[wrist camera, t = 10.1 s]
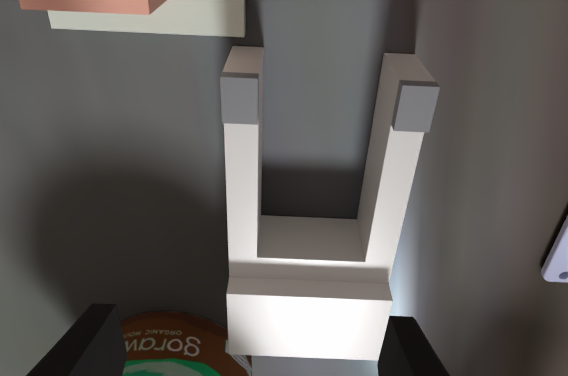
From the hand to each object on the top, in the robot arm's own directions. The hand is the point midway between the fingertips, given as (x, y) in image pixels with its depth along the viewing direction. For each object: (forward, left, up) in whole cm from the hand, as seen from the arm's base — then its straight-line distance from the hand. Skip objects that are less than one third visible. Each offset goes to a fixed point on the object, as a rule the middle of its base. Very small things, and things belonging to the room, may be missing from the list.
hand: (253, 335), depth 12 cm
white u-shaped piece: (-2, +2, -9) cm, 10 cm away
